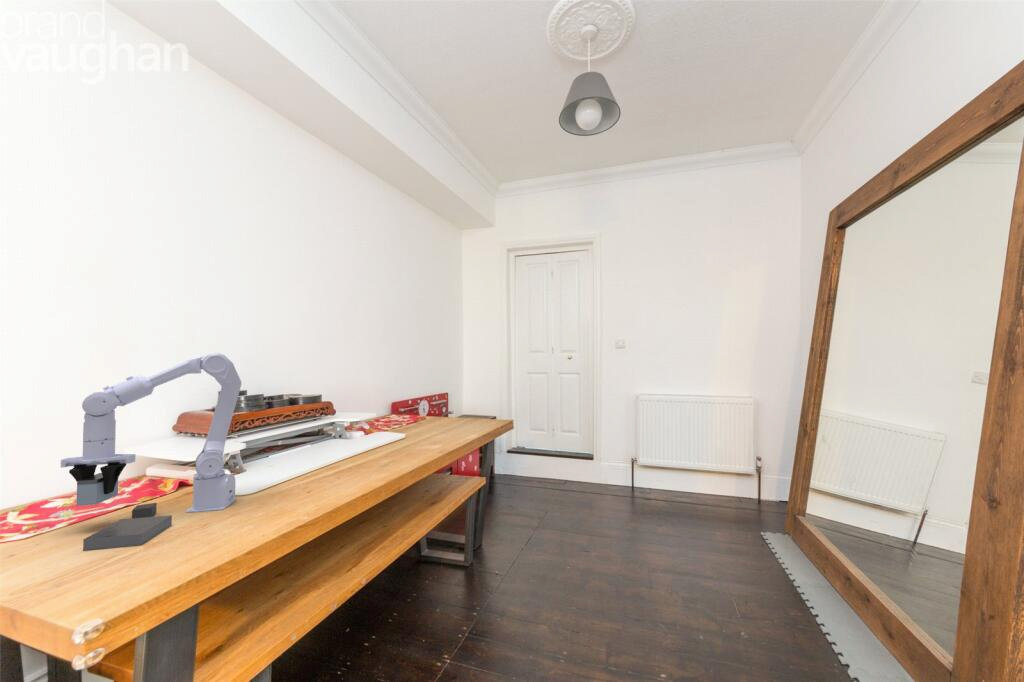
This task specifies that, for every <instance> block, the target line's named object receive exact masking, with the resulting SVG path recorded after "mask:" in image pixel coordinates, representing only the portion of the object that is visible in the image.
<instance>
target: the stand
mask: <svg viewBox="0 0 1024 682" xmlns="http://www.w3.org/2000/svg"><path fill="white" fill-rule="evenodd" d="M172 516H173V515H171V514H170V515H169V514H168V515H160V516H159V515H158V516H157V515H156V516H153V517H145V518H133V519H132V518H125V519H124V518H123V519H119V520H117V521H115V522H114V523H111V524H110V525H108V526H106V527H104V528H102V529H100V530H98V531H97V532H95V533H92V534H91V535H89V536H87V537H85V538H83V542H82V550H83V551H84V552H85V551H95V550H104V549H115V548H116V549H117V548H126V547H133V546H134V547H136V546H142V545H144V544H146V543H147V542H149V540H151V539H153V538H154V537H156V536H157V535H159V534H160V533H162V532H164V531H165V530H166V529H168V528H170V527H172V523H173V521H172V519H173V517H172Z"/></svg>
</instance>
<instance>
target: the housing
mask: <svg viewBox="0 0 1024 682" xmlns="http://www.w3.org/2000/svg"><path fill="white" fill-rule="evenodd" d="M118 495H119V479H118V480H117V482H116V485H115V488H114V491H113V492H111V493H109V494H104V480H103V475H102V472H99V473H96V474H94V475H93V476H90V477H87V478H84V479H82V480H79V481H76V502H75V503H76V504H75V505H76V506H75V507H83V506H95V505H98V504H101V503H103V502H105V501H107V500H109V499H112V498H114V497H117V496H118Z"/></svg>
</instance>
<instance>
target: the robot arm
mask: <svg viewBox="0 0 1024 682" xmlns="http://www.w3.org/2000/svg"><path fill="white" fill-rule="evenodd" d="M202 370H203V371H204V372H205V373H206V374H207V375H209V376H211V377H213V378H214V379H215V381H216V382H217V383H218V384H219V385H220V387H221V388H220V392H219V395H218V398H217V403H216V406H215V408H214V412H213V416H212V418H211V419H212V420H211V421H210V422H211V423H210V425H209V426H210V427H209V429H208V433H207V436H206V440H205V442H204V444H203V448H202V450H201V452H200V453H199V454H198V455H197V457H196V458H195V472H196V474H194V475H193V478H192V479H193V481H192V482H193V483H192V484H193V487H192V498H193V499H192V506H191V507H189V508H188V509H186V510H185V513H186V514H188V513H201V512H211V511H223V510H225V509H226V508H228V507H229V506H230V505H232V504H233V503H234V502H235V501H237V498H236V476H235V475H234V474H232V473H226V471H225V470H224V466H225V462H224V458H223V456H224V452H225V451H224V450H225V445H226V440H227V437H228V434H229V430H230V426H231V423H232V420H233V415H234V411H235V408H236V405H237V401H238V399H239V395H240V391H241V387H242V380H241V377H240V376H239V374H238V372H237V369H236V368H235V364H234V363H233V362H232V361H231V359H229V357H227V356H226V355H225V354H224V353H223V354H222V353H219V352H212V353H209V354H207V355H205V356H200V357H195V358H191V359H189V360H185V361H183V362H181V363H178V364H176V365H174V366H172V367H169V368H167V369H164V370H162V371H159V372H158V373H155V374H153V375H151V376H148V377H147V376H143V375H136V376H135V377H134V376H133V375H130V376H127V377H126V378H125V379H126V380H124V381H122V382H119V383H116V384H114V385H112V386H109V385H107V386H105V387H102V389H103V391H96V392H93V393H91V394H89V395H88V396H86V397H85V398H84V400H83V401H82V402H81V408H82V410H83V411H84V415H83V419H84V422H83V427H82V428H83V429H82V430H83V431H82V456H77V457H75V456H74V457H65V458H63V459H61V460H60V468H69V467H72V468H71V469H68V470H69V471H68V473H69V474H70V476H72V477H73V478H74V480H75V481H76V482H77V481H79V480H82V479H84V478H87V477H90V476H93V475H96V474H95V473H96V471H97V467H98V466H99V465H103V466H101V467H100V473H102V475H103V480H104V494H109V493H111V492H113V491H114V488H115V485H116V482H117V480H118V481H119V478H120V475H121V474H122V472H123V471H124V469H125V467H127V464H132V463H135V462H136V453H130V454H129V453H116V427H117V426H116V425H117V424H116V423H117V421H116V409H117V407H125V406H126V405H130V404H131V403H134V402H136V401H138V400H141V399H143V398H145V397H148V396H149V395H152V394H153V391H154V389H155V388H156V387H158V386H160V385H163V384H166V383H168V382H171V381H173V380H175V379H178V378H180V377H183V376H186V375H188V374H190V375H191V374H202Z"/></svg>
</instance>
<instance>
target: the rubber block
mask: <svg viewBox="0 0 1024 682" xmlns="http://www.w3.org/2000/svg"><path fill="white" fill-rule="evenodd" d="M131 510H132V511H131V519H133V518H145V517H155V515H156V514H157V502H152V503H143V504H138V505H136V506H134V507H133V509H131Z"/></svg>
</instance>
